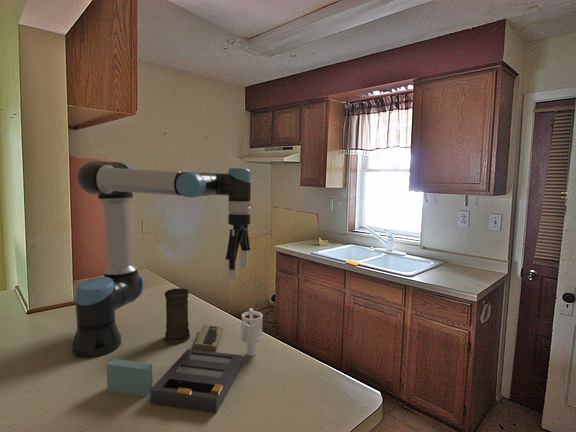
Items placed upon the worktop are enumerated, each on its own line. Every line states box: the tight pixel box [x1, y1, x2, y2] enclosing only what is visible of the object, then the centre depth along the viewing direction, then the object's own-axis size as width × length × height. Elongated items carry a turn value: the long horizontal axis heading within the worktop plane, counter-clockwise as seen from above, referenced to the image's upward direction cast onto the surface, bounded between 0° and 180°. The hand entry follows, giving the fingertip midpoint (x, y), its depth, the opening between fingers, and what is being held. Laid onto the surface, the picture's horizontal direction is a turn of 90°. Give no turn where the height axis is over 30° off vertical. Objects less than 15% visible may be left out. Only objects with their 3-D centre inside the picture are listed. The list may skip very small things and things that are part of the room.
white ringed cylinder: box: [241, 307, 264, 357], centre depth 120 cm, size 7×7×15 cm
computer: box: [192, 324, 224, 352], centre depth 129 cm, size 16×8×3 cm, turn 3°
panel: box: [106, 358, 154, 397], centre depth 98 cm, size 12×3×8 cm, turn 80°
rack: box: [149, 348, 243, 414], centre depth 102 cm, size 18×22×5 cm
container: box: [164, 288, 191, 345], centre depth 129 cm, size 9×9×18 cm
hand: (238, 273), depth 123 cm, fingers open, 13 cm apart
